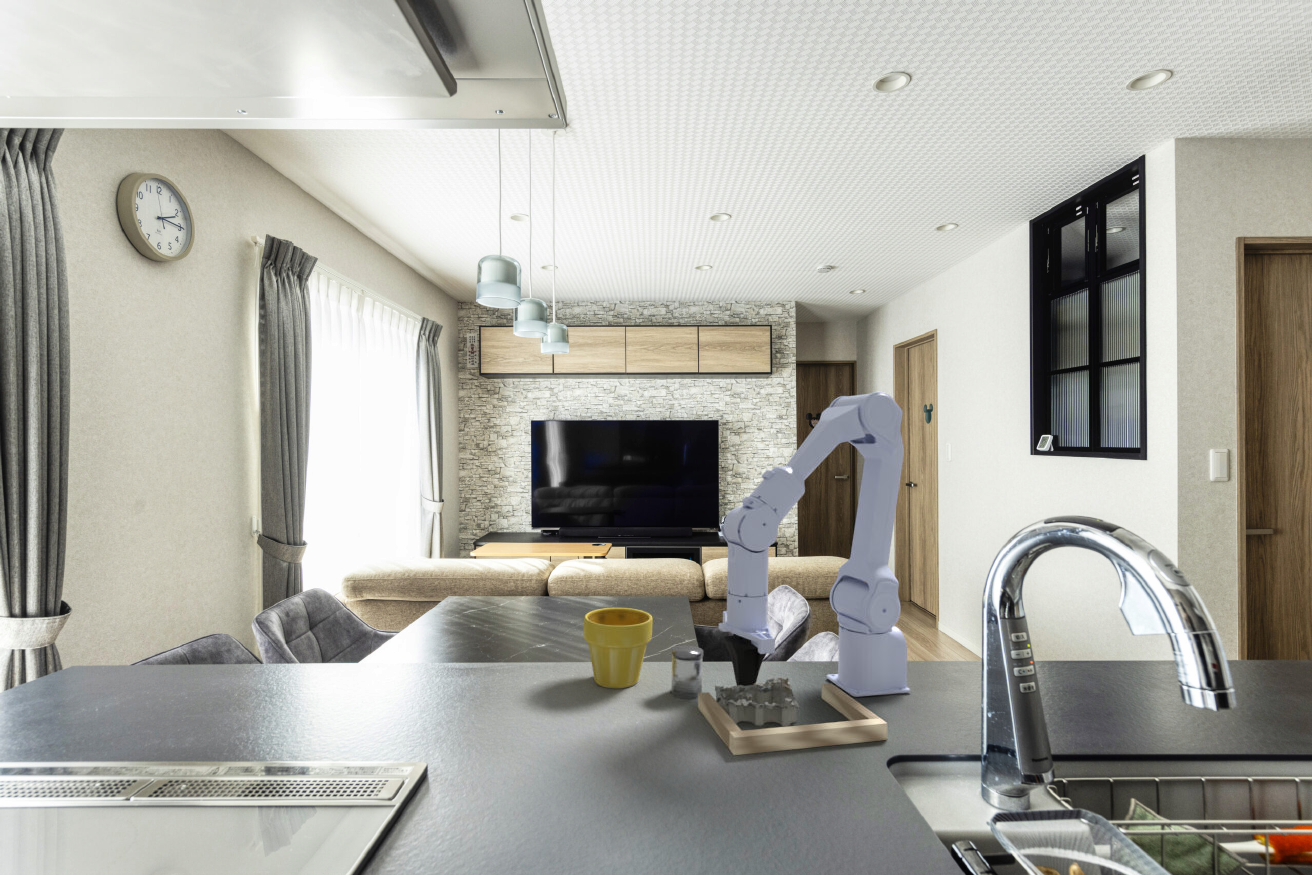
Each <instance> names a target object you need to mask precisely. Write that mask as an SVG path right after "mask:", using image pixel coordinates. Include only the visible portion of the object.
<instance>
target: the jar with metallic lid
mask: <svg viewBox="0 0 1312 875" xmlns="http://www.w3.org/2000/svg"><path fill="white" fill-rule="evenodd" d="M670 651H671V684H670V685H671V688H670V689H671V691H670V692H671V695H672V696H673V697H675V698H678V699H682V700H683V699H684V700H693V699H698V693H703V657H704V650H703V649H702V648H700V647H699V646H696V645H695V646H694V645H676V646H674V647H672V648H671V650H670Z"/></svg>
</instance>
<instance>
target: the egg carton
mask: <svg viewBox="0 0 1312 875" xmlns="http://www.w3.org/2000/svg"><path fill="white" fill-rule="evenodd" d="M714 691H715V694H716V695H715V697H716V698H715V700H716V701H717V702H718V704H719V705H720V706H721V707H722V708H723V710H724V711H725V712H726V713H727V714H728V715H729V717H730V718H731V719H732V720H733V721H734V722H735V724H736V725H738V723H740V722H749V723H752V724H753V725H754V726H764V724H765V723H778V724H780V725H781V727H789V726H791V724H792V723H796V722H797V718H798V717H797V713H798V712H797V711H798V710H797V708H799V704H798V701H797V699H796V697H795V696H794V692H793V688H792V686H791V683H790V681H789V677H788V678H787V677H785V678H782V677H777V678H771V679H766V681H765V683H758V682H756V683H755V684H754V685H748V686H743V685H738V686H737V685H732V686H730V687H728V686H727V687H725V688H724V686H723V685H721V686H719V685H714Z"/></svg>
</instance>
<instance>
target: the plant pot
mask: <svg viewBox="0 0 1312 875" xmlns="http://www.w3.org/2000/svg"><path fill="white" fill-rule="evenodd" d="M653 619H654V618H653V616H652V615H651V614H650V613H649V612H647V611H644V610H641V609H635V608H629V607H606V608H599V609H593V610H591V611H589V612H588V613H586V614H585V615H584V619H583V639H584V640H585V642H586V643H588V649H589V655H590V661H591V666H592V673H593V679H594V682H595V683H596V684H597V685H599V686H601V687H603V688H607V689H626V688H630V687H633V686H635V685H636V684H637V683H638V681H639V678H640V676H641V671H642V666H643V662H644V659H645V654H646V650H647V645H648V643H650V641H651V640H652V636H653Z"/></svg>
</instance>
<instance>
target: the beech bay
mask: <svg viewBox="0 0 1312 875" xmlns="http://www.w3.org/2000/svg"><path fill="white" fill-rule="evenodd" d="M821 699H822V700H824V702H826V703H827V704H829V705H830V706H831V707H833V708H834V709H835V710H836V711H838V712H839V713H840V714H841V715H843V717H845V718H847V719H848V720H845V721H835V722H825V723H823V722H822V723H813V724H803V725H802V724H801V725H793V726H792V725H789V726H779V727H768V728H759V729H746V730H745V729H744V730H742V729H741V728H740V727H739V726H738V724H735V722H734V721H733V720H732V719H731V718H730V717H729V715H728V714H727V713H726V712H725V711H724V710H723V708H722V707H721V706H720V705H719V704H718V702H717V701H716V698H714V696H713V695H712V694H711V693H710V692H702V693H698V698H697V700H698V702H697V708H698V710H699V712H701V714H702V715H703V717H704V718H705V720H706V721H707V722H708V723H709V725H710V726H711V727H712V728H713V729H714V731H715V732H716V734H717V735H718V736H719V738H720V739H721V741H722V742H723V744H725V746H726V747H727V748H728V749H729V751H730V752H731V753H732V755H733V756H740V755H741V756H742V755H749V754H760V753H770V752H778V751H779V752H780V751H787V750H799V749H808V748H820V747H827V746H829V747H830V746H838V745H839V746H840V745H849V744H858V743H866V742H867V743H868V742H869V743H870V742H876V741H877V742H878V741H887V740H888V727H889V726H888V724H889V723H888V722H886V721H885V720H884V719H882V718H881V717H879V716H878V715H877V714H875V713H874V712H873V711H871V710H869V708H866V706H864V705H862V703H860V702H859V701H857V700H856V699H854V698H853V697H851V695H850V694H849V695H848V694H847V692H844V691H843V689H840V687H838V686H837V685H836V684H835V685H834V684H833V682H830V683H821Z"/></svg>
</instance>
